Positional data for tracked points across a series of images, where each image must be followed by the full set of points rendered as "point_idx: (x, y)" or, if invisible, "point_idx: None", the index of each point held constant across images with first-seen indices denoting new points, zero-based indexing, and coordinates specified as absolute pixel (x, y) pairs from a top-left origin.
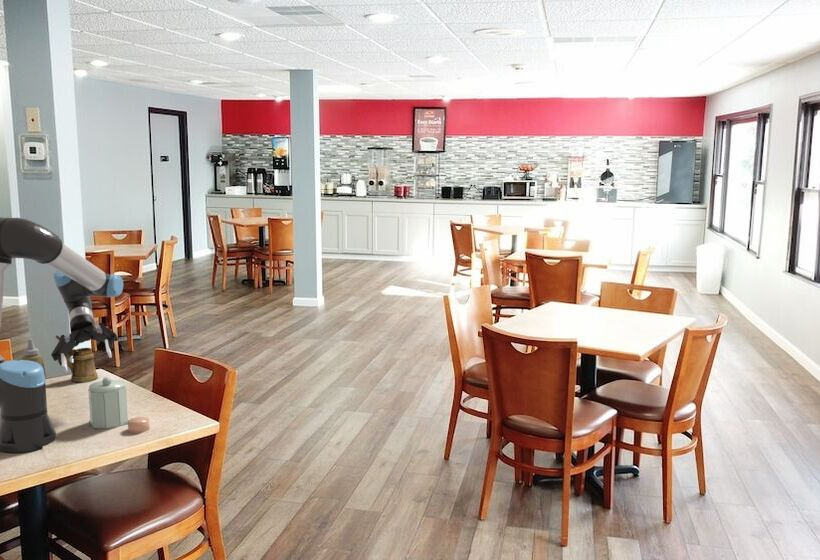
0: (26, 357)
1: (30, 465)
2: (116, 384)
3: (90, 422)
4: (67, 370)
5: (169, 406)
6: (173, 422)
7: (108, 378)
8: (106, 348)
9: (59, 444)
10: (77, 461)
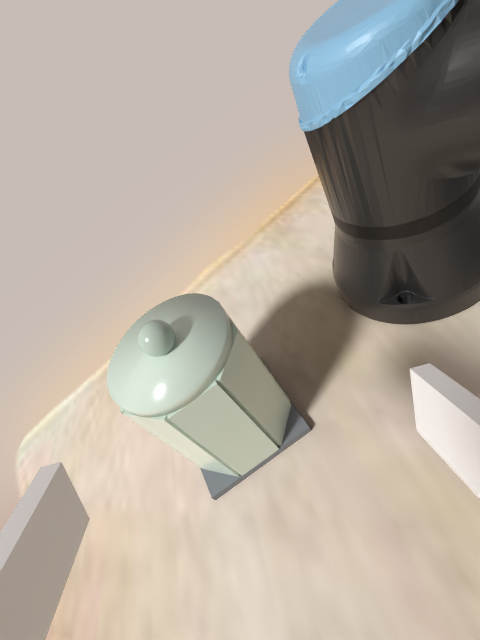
0: None
1: (323, 205)
2: (133, 355)
3: (296, 412)
4: (424, 438)
5: (69, 631)
6: (86, 449)
7: (140, 328)
8: (37, 500)
9: (319, 281)
10: (247, 240)
